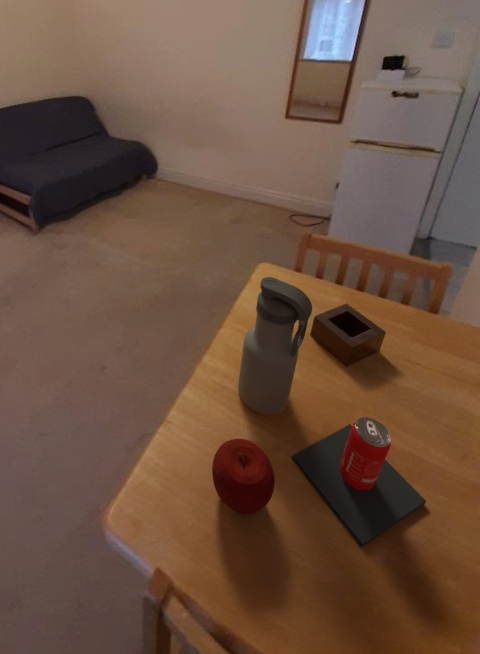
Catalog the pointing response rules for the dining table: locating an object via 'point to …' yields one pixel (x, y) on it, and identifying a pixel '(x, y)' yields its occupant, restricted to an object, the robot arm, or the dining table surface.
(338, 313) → the holder
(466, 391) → the dining table surface
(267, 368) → the water bottle
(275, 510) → the dining table surface
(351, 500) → the mat
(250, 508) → the apple
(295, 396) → the dining table surface
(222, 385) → the dining table surface
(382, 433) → the beverage can
